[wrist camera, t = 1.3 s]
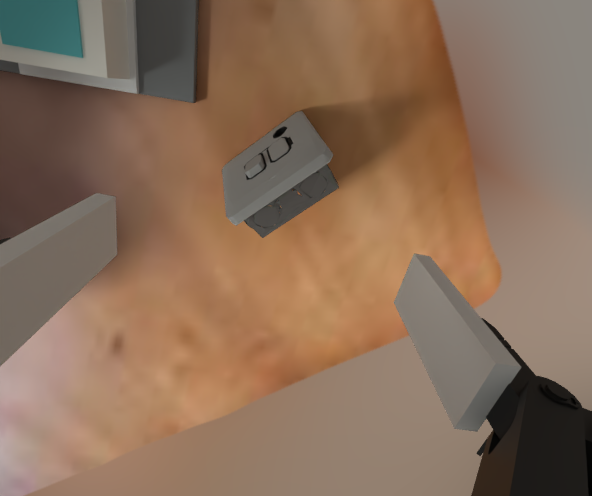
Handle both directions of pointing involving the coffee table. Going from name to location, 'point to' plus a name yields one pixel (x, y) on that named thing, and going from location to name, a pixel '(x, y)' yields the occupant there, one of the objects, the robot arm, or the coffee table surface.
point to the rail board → (163, 49)
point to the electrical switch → (278, 176)
